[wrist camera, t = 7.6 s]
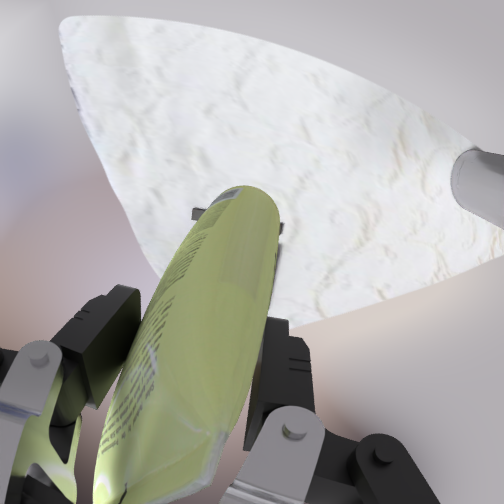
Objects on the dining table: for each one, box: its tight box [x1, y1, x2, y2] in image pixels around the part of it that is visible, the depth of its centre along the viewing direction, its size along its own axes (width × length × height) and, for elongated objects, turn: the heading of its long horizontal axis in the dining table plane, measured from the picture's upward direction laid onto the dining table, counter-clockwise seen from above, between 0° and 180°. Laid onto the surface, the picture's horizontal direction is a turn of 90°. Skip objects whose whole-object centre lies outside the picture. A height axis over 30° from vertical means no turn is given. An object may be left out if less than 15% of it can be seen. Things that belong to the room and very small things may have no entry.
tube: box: [93, 186, 280, 504], centre depth 12 cm, size 6×5×20 cm
